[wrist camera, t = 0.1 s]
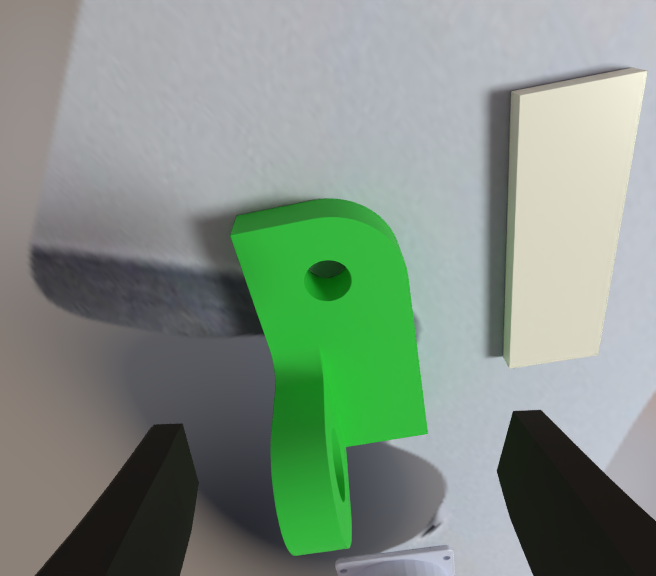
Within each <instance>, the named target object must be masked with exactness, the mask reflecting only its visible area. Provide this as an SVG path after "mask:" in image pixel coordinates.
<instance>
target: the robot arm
mask: <svg viewBox="0 0 656 576" xmlns="http://www.w3.org/2000/svg"><path fill="white" fill-rule="evenodd" d="M497 474H498V477H499V481H500V485H501V488H502V492H503V496H504V499H505V502H506V506H507V509H508V513H509V516H510V519H511V522H512V524H513V527H514V529H515V532H516V534H517V537H518V539H519V542H520V544H521V546H522V549H523V551H524V554H525V556H526V559H527V561H528V564H529V566H530V568H531V571H532V573H533V576H656V521H655V520H654V519H653V518H652V517H650V516H649V515H648V514H647V513H646V512H645V511H644V510H643V509H642V508H641V507H639V506H638V504H636V503H635V502H634V501H633V500H632V499H631V498H630V497H629V496H628V495H627V494H626V493H625V492H623V490H622V489H621V488H619V487H618V486H617V485H616V484H615V483H614V482H613V481H612V480H611V479H610V478H609V477H608V476H607V475H606V474H605V473H604V472H603V471H602V470H601V469H600V468H599V467H598V466H597V465H596V464H595V463H594V462H593V461H592V460H591V459H590V458H589V457H588V456H587V455H586V454H585V453H584V452H583V451H581V450H580V449H579V448H578V447H577V446H576V445H575V444H574V443H573V442H572V441H571V440H570V439H569V438H568V437H567V435H566V434H565V433H564V432H563V431H562V430H561V429H560V428H559V427H558V426H557V425H555V424H554V423H553V422H552V421H551V420H550V419H549V418H548V417H547V416H546V415H545V414H544V413H543V412H542V411H541V410H528V411H513V413H512V417H511V421H510V424H509V428H508V432H507V435H506V439H505V443H504V446H503V450H502V454H501V457H500V461H499V465H498V468H497ZM198 483H199V482H198V479H197V475H196V471H195V468H194V464H193V460H192V457H191V453H190V449H189V446H188V442H187V438H186V434H185V431H184V427H183V424H161V425H154V426H153V427H151V428H150V430H149V431H148V432H147V434H146V435H145V437H144V438H143V439H142V441H141V442H140V444H139V445H138V446H137V448H136V449H135V451H134V452H133V453H132V455H131V456H130V458H129V459H128V460H127V462H126V463H125V464H124V466H123V467H122V468H121V470H120V471H119V472H118V474H117V475H116V476H115V478H114V479H113V481H112V482H111V483H110V485H109V486H108V487H107V488H106V490H105V491H104V492H103V494H102V495H101V496H100V497H99V499H98V500H97V501H96V502H95V504H94V505H93V506H92V508H91V509H90V510H89V512H88V513H87V514H86V515H85V517H84V518H83V519H82V520H81V522H80V523H79V524H78V525H77V526H76V528H75V529H74V530H73V531H72V533H71V534H70V535H69V536H68V537H67V538H66V540H65V541H64V542H63V543H62V544H61V546H60V547H59V548H58V549H57V550H56V551H55V553H54V554H53V555H52V556H51V557H50V558H49V560H48V561H47V562H46V563H45V564H44V566H43V567H42V568H41V569H40V570H39V571H38V572H37V574H36V575H35V576H180V573H181V569H182V565H183V561H184V558H185V553H186V549H187V546H188V542H189V538H190V534H191V530H192V524H193V517H194V511H195V505H196V498H197V491H198ZM335 569H336V572H337V574H338V576H455V568H454V553H453V549H452V547H451V546H448V545H444V546H436V547H429V548H421V549H413V550H405V551H398V552H390V553H382V554H380V553H376V554H368V555H361V556H353V557H345V558H339V559H337V560H336V561H335Z"/></svg>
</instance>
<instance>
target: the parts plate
mask: <svg viewBox="0 0 656 576" xmlns="http://www.w3.org/2000/svg"><path fill="white" fill-rule="evenodd" d="M646 76H647V71H646V70H642V69H637V68H628V69H623V70H617V71H612V72H607V73H602V74H597V75H592V76H587V77H582V78H577V79H571V80H566V81H561V82H556V83H551V84H546V85H541V86H536V87H530V88H525V89H520V90H515V91H511V111H510V145H509V179H508V213H507V247H506V281H505V315H504V349H503V358H504V360H505V361H506V363H507V365H508V367H509V369H510V368H517V367H523V366H530V365H536V364H543V363H549V362H556V361H562V360H569V359H575V358H582V357H588V356H595V355H598V353H599V347H600V341H601V336H602V330H603V324H604V318H605V313H606V307H607V301H608V295H609V289H610V284H611V278H612V272H613V266H614V261H615V255H616V249H617V243H618V238H619V232H620V226H621V220H622V215H623V209H624V203H625V197H626V192H627V186H628V180H629V174H630V168H631V163H632V157H633V151H634V145H635V140H636V134H637V128H638V122H639V117H640V111H641V105H642V99H643V94H644V88H645V82H646Z"/></svg>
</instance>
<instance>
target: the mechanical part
mask: <svg viewBox="0 0 656 576" xmlns="http://www.w3.org/2000/svg"><path fill="white" fill-rule="evenodd" d="M230 237H231V240H232V242H233V245H234V248H235V251H236V254H237V257H238V260H239V263H240V266H241V268H242V271H243V274H244V277H245V280H246V283H247V286H248V289H249V291H250V294H251V297H252V300H253V303H254V306H255V309H256V312H257V314H258V317H259V320H260V323H261V326H262V329H263V332H264V335H265V338H266V340H267V343H268V346H269V349H270V352H271V355H272V359H273V365H274V372H275V398H274V409H273V420H272V431H271V432H272V433H271V470H272V482H273V491H274V497H275V505H276V510H277V516H278V521H279V525H280V529H281V532H282V536H283V539H284V541H285V544H286V547H287V549H288V550H289V552H290V553H291V554H292V555H294V556H296V555H304V554H311V553H318V552H325V551H332V550H339V549H347V548H350V545H351V537H352V526H351V507H350V494H349V482H348V469H347V455H346V447H347V446H354V445H361V444H367V443H373V442H380V441H386V440H392V439H398V438H405V437H411V436H417V435H424V434H428V430H427V422H426V414H425V406H424V398H423V390H422V382H421V375H420V367H419V359H418V351H417V343H416V335H415V327H414V319H413V311H412V303H411V295H410V287H409V279H408V273H407V268H406V265H405V262H404V259H403V256H402V253H401V250H400V248H399V245H398V242H397V239H396V237H395V235H394V233H393V232H392V230H391V228H390V227H389V226H388V225H387V223H386V222H385V221H384V220H383V219H382V218H381V217H380V216H378V215H377V214H376V213H375V212H373V211H372V210H370V209H368V208H366V207H364V206H362V205H360V204H357V203H355V202H351V201H347V200H341V199H318V200H311V201H307V202H302V203H297V204H292V205H287V206H282V207H277V208H272V209H267V210H262V211H257V212H252V213H247V214H242V215H237V217H236V219H235V222H234V225H233V228H232V231H231V234H230ZM325 260H331V261H336V262H339V263H341V264H343V265H344V266H345V267H346V268H345V269H344V271H343V272H342V273H340V274H339V275H337V276H334V277H331V278H322V277H318V276H316V275H314V274H312V273H311V272H310V271H309V270H308V269H309V268H310V267H311V266H312V265H314V264H315V263H318V262H320V261H325Z"/></svg>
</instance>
